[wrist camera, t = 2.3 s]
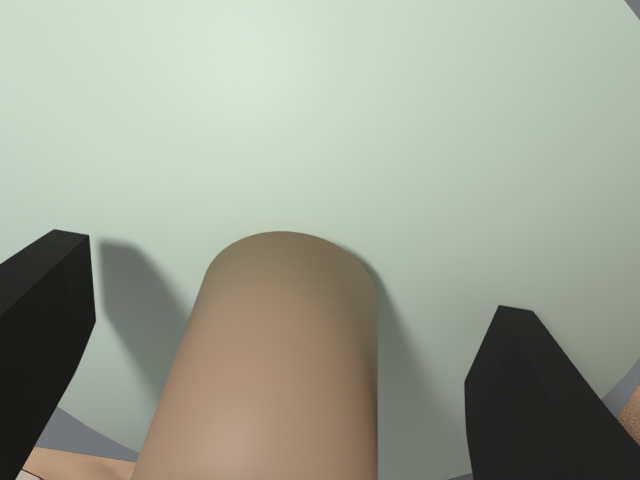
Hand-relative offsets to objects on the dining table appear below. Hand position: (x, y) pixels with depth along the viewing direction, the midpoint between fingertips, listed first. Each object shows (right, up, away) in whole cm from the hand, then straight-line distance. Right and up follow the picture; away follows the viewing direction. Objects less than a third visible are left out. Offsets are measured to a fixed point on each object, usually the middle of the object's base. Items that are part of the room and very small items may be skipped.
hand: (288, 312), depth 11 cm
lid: (0, +1, +1) cm, 2 cm away
